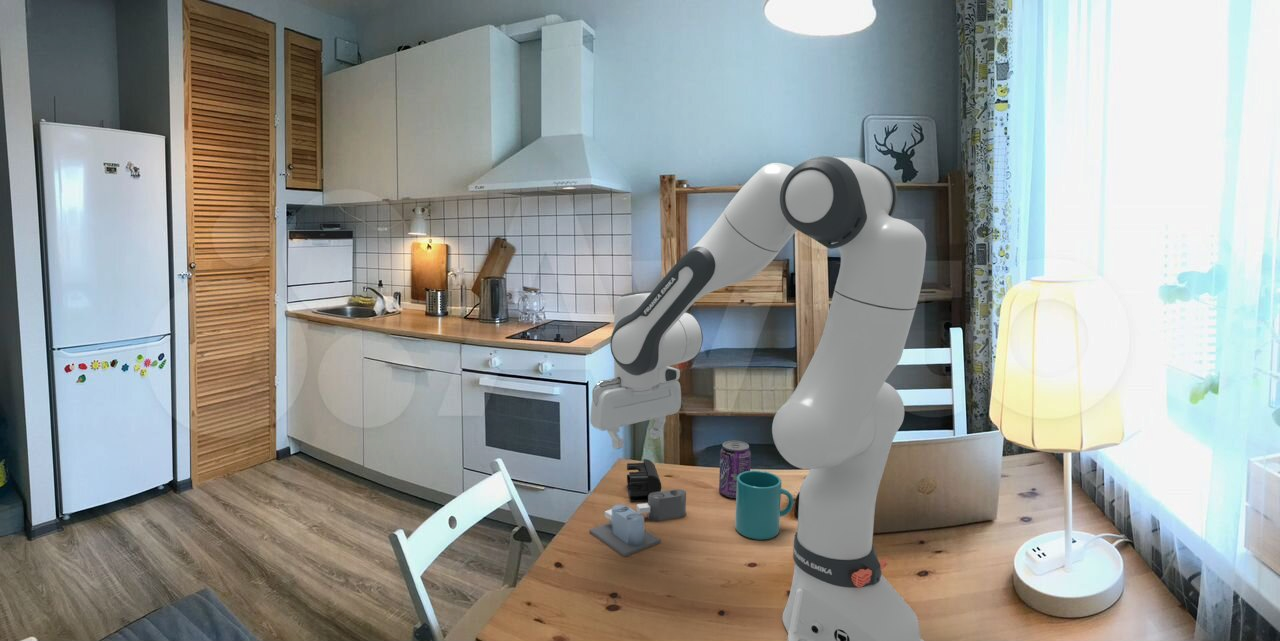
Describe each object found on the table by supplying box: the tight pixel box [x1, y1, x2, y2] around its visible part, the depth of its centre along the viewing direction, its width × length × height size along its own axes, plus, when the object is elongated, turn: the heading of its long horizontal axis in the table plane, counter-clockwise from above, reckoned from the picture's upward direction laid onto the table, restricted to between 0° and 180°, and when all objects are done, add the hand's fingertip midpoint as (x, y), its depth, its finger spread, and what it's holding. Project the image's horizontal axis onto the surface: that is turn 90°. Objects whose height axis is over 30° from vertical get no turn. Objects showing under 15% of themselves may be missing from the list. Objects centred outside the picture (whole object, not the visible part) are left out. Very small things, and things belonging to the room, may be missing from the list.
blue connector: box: [604, 504, 645, 546], centre depth 124 cm, size 11×4×5 cm, turn 38°
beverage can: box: [718, 440, 752, 499], centre depth 144 cm, size 7×7×12 cm
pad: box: [588, 521, 662, 558], centre depth 124 cm, size 12×9×1 cm
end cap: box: [626, 458, 662, 503], centre depth 144 cm, size 10×7×7 cm
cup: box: [734, 470, 794, 541], centre depth 127 cm, size 9×12×11 cm
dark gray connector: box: [636, 489, 687, 522], centre depth 133 cm, size 11×4×5 cm, turn 108°
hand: (637, 442), depth 121 cm, fingers open, 8 cm apart
